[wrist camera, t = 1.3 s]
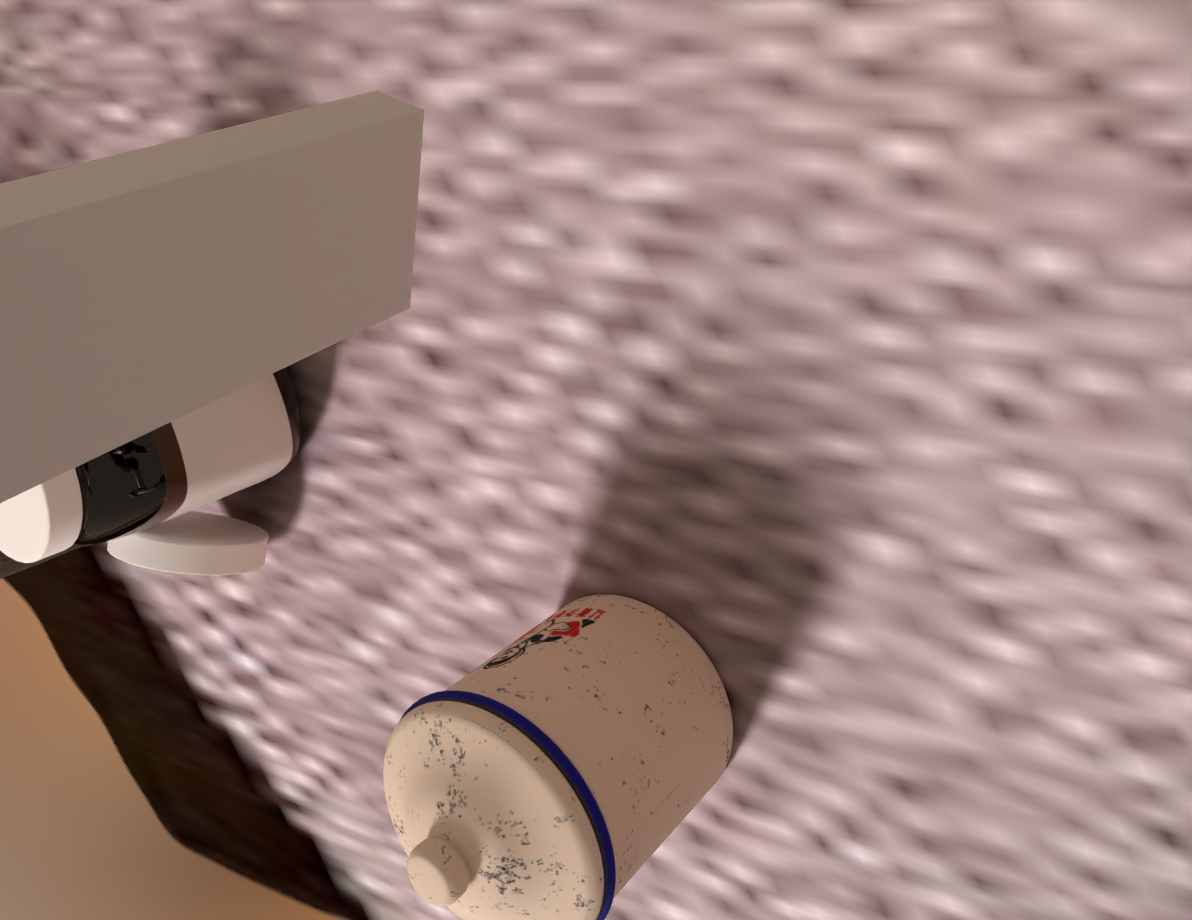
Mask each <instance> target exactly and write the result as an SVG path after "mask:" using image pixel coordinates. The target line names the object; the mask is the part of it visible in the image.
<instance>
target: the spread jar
mask: <svg viewBox="0 0 1192 920" xmlns="http://www.w3.org/2000/svg"><path fill="white" fill-rule="evenodd" d="M299 445H300V418H299V408H298V402H297V398H296V394H295V390H294V387H293V384H292V381H291V379H290V376H289V374H288V372H287V370H286V368H283V369H281V370H279V371H277V372H275V373H272V374H270V375H268V376H266V377H264V378H262V379H260V380H258V381H256V382H254V383H252V384H249V385H247V386H245V387H243V388H241V389H239V390H237V391H235V392H233V393H231V394H228V395H226V396H224V397H222V398H220V399H218V400H216V401H214V402H212V403H210V404H207V405H205V406H203V407H201V408H199V409H197V410H195V411H193V412H191V413H189V414H186V415H184V416H182V417H180V418H178V419H176V420H174V421H172V422H170V423H168V424H165V425H163V426H161V427H159V428H157V429H155V430H153V431H151V432H149V433H147V434H145V435H142V436H140V437H138V438H136V439H134V440H132V441H130V442H128V443H126V444H124V445H121V446H119V447H117V448H115V449H113V450H111V451H109V452H107V453H105V454H103V455H100V456H98V457H96V458H94V459H92V460H90V461H88V462H86V463H84V464H82V465H79V466H77V467H75V468H73V469H71V470H69V471H67V472H65V473H63V474H61V475H58V476H56V477H54V478H52V479H50V480H48V481H46V482H44V483H42V484H40V485H38V486H35V487H33V488H31V489H29V490H27V491H25V492H23V493H21V494H19V495H17V496H14V497H12V498H10V499H8V500H6V501H4V502H2V503H0V551H2V552H3V553H4V554H5V555H7V556H8V557H10V558H12V559H14V560H16V561H19V562H23V563H32V562H36V561H38V560H41V559H43V558H46V557H49V556H51V555H54V554H56V553H59V552H61V551H64V550H66V549H67V548H69V547H71V546H72V545H73V544H77V545H87V544H97V543H102V542H107V541H108V548H107V550H108V551H109V553H110V554H111V555H113V556H114V557H116V558H117V559H120V560H122V561H124V562H127V563H130V564H133V565H136V566H140V567H144V568H149V569H154V570H159V571H165V572H173V573H181V574H194V575H231V574H240V573H246V572H251V571H254V570H257V569H259V568H260V567H262V566H263V565H264V562H265V557H266V550H267V543H268V534H267V532H266V531H265V530H264V529H262V528H261V527H259V526H257V525H254V524H252V523H249V522H246V521H243V520H239V519H235V518H231V517H226V516H222V515H216V514H210V513H203V512H195V511H191V510H194V509H196V508H199V507H201V506H204V505H206V504H209V503H211V502H214V501H216V500H219V499H221V498H224V497H226V496H229V495H231V494H234V493H236V492H239V491H241V490H244V489H246V488H248V487H251V486H253V485H256V484H258V483H260V482H262V481H264V480H266V479H268V478H270V477H272V476H274V475H276V474H277V473H279V472H280V471H282V470H283V469H285V468H286V467H287V466H288V465H289V464H290V463H291V462H292V461H293V459H294V458H295V456H296V454H297V452H298V449H299Z"/></svg>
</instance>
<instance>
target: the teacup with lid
mask: <svg viewBox="0 0 1192 920" xmlns="http://www.w3.org/2000/svg"><path fill="white" fill-rule="evenodd" d="M732 741H733V721H732V713H731V708H730V704H729V700H728V697H727V694H726V691H725V689H724V686H723V683H722V681H721V679H720V677H719V675H718V673H717V671H716V669H715V667H714V666H713V664H712V662H711V661H710V659H709V658H708V656H707V655H706V653H705V652H704V651H703V649H702V648H701V647H700V646H699V644H698V643H697V642H696V641H695V640H694V639H693V638H692V637H691V636H690V634H689V633H687V632H686V631H685V630H684V629H683V628H682V627H681V626H680V625H679V624H677V623H676V622H675V621H674V620H672V619H671V618H669V617H668V616H667V615H665V614H664V613H662V612H660V611H659V610H657V609H655V608H653V607H651V606H649V605H647V604H645V603H643V602H640V601H637V600H635V599H632V598H628V597H624V596H618V595H606V594H602V595H592V596H586V597H583V598H580V599H577V600H575V601H573V602H571V603H569V604H567V605H566V606H564V607H563V608H561V609H560V610H559V611H557V612H556V613H554V614H553V615H551V616H550V617H549V618H547V619H546V620H544V621H543V622H542V623H540V624H539V625H537V626H536V627H534V628H533V629H532V630H530V631H529V632H527V633H526V634H525V635H523V636H522V637H520V638H519V639H518V640H516V641H515V642H513V643H512V644H510V645H509V646H508V647H506V648H505V649H503V650H502V651H501V652H499V653H498V654H496V655H495V656H493V657H492V658H491V659H489V660H488V661H486V662H485V663H484V664H482V665H481V666H479V667H478V668H476V669H475V670H474V671H472V672H471V673H469V674H468V675H467V676H465V677H464V678H462V679H461V680H460V681H458V682H457V683H455V684H454V685H452V686H451V687H450V688H448V689H447V690H445V691H441V692H436V693H433V694H430V695H428V696H425V697H423V698H421V699H420V700H418V701H417V702H415V703H414V704H413V705H412V706H411V707H410V708H409V709H408V710H407V711H406V712H405V713H404V715H403V716H402V718H401V719H400V721H399V723H398V724H397V725H396V727H395V729H394V731H393V732H392V735H391V737H390V740H389V743H388V745H387V749H386V753H385V759H384V773H383V778H384V789H385V796H386V801H387V805H388V809H389V813H390V816H391V819H392V822H393V825H394V828H395V830H396V833H397V835H398V837H399V839H400V842H401V844H402V845H403V847H404V849H405V851H406V853H407V855H408V857H409V858H408V862H407V871H408V876H409V879H410V881H411V883H412V885H413V887H414V888H415V890H416V891H417V892H418V893H419V894H420V895H421V896H422V897H423V898H424V899H425V900H426V901H428V902H429V903H431V904H434V905H437V906H447V907H448V908H449V909H450V910H452V911H453V912H454V913H455V914H456V915H457V916H458V917H460V918H461V919H462V920H604V919H605V918H606V916H607V914H608V912H609V910H610V907H611V904H612V901H613V898H614V897H615V896H616V895H617V893H618V892H619V891H620V890H621V889H622V888H623V887H624V886H625V884H626V883H627V882H628V881H629V880H630V879H631V878H632V877H633V875H634V874H635V873H636V872H637V871H638V870H639V869H640V867H641V866H642V865H643V864H644V863H645V862H646V861H647V860H648V858H649V857H650V856H651V855H652V854H653V853H654V852H655V851H656V849H657V848H658V847H659V846H660V845H661V844H662V843H663V842H664V840H665V839H666V838H667V837H668V836H669V835H670V834H671V832H672V831H673V830H674V829H675V828H676V827H677V826H678V825H679V823H680V822H681V821H682V820H683V819H684V818H685V817H686V816H687V814H688V813H689V812H690V811H691V810H692V809H693V808H694V807H695V805H696V804H697V803H698V802H699V801H700V800H701V799H702V797H703V796H704V795H705V794H706V793H707V792H708V791H709V790H710V788H711V787H712V786H713V785H714V784H715V783H716V782H717V781H718V779H719V778H720V776H721V775H722V773H723V771H724V769H725V767H726V765H727V763H728V760H729V757H730V753H731V748H732Z"/></svg>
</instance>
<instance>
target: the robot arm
mask: <svg viewBox="0 0 1192 920" xmlns="http://www.w3.org/2000/svg"><path fill="white" fill-rule="evenodd" d="M423 119H424V110H423V109H421V108H418V107H416V106H413V105H411V104H408V103H406V102H404V101H401V100H399V99H396V98H394V97H391V96H389V95H387V94H384V93H382V92H379V91H374V92H370V93H366V94H361V95H357V96H353V97H349V98H345V99H341V100H337V101H333V102H329V103H325V104H321V105H317V106H313V107H309V108H305V109H301V110H297V111H293V112H288V113H284V114H280V115H276V116H272V117H268V118H264V119H260V120H256V121H252V122H248V123H244V124H240V125H236V126H232V127H228V128H224V129H220V130H215V131H211V132H207V133H203V134H199V135H195V136H191V137H187V138H183V139H179V140H175V141H171V142H167V143H163V144H159V145H155V146H151V147H147V148H142V149H138V150H134V151H130V152H126V153H122V154H118V155H114V156H110V157H106V158H102V159H98V160H94V161H90V162H86V163H82V164H78V165H74V166H69V167H65V168H61V169H57V170H53V171H49V172H45V173H41V174H37V175H33V176H29V177H25V178H21V179H17V180H13V181H9V182H5V183H1V184H0V503H2V502H4V501H6V500H8V499H10V498H12V497H14V496H17V495H19V494H21V493H23V492H25V491H27V490H29V489H31V488H33V487H35V486H38V485H40V484H42V483H44V482H46V481H48V480H50V479H52V478H54V477H56V476H58V475H61V474H63V473H65V472H67V471H69V470H71V469H73V468H75V467H77V466H79V465H82V464H84V463H86V462H88V461H90V460H92V459H94V458H96V457H98V456H100V455H103V454H105V453H107V452H109V451H111V450H113V449H115V448H117V447H119V446H121V445H124V444H126V443H128V442H130V441H132V440H134V439H136V438H138V437H140V436H142V435H145V434H147V433H149V432H151V431H153V430H155V429H157V428H159V427H161V426H163V425H165V424H168V423H170V422H172V421H174V420H176V419H178V418H180V417H182V416H184V415H186V414H189V413H191V412H193V411H195V410H197V409H199V408H201V407H203V406H205V405H207V404H210V403H212V402H214V401H216V400H218V399H220V398H222V397H224V396H226V395H228V394H231V393H233V392H235V391H237V390H239V389H241V388H243V387H245V386H247V385H249V384H252V383H254V382H256V381H258V380H260V379H262V378H264V377H266V376H268V375H270V374H272V373H275V372H277V371H279V370H281V369H283V368H285V367H287V366H289V365H291V364H293V363H296V362H298V361H300V360H302V359H304V358H306V357H308V356H310V355H312V354H314V353H317V352H319V351H321V350H323V349H325V348H327V347H329V346H331V345H333V344H335V343H338V342H340V341H342V340H344V339H346V338H348V337H350V336H352V335H354V334H356V333H359V332H361V331H363V330H365V329H367V328H369V327H371V326H373V325H375V324H377V323H379V322H382V321H384V320H386V319H388V318H390V317H392V316H394V315H396V314H398V313H400V312H403V311H405V310H407V309H409V308H410V300H411V286H412V272H413V259H414V245H415V231H416V217H417V203H418V189H419V175H420V161H421V147H422V133H423Z"/></svg>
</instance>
